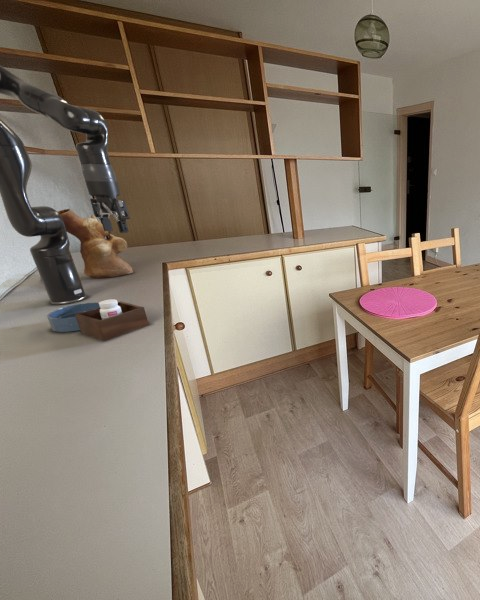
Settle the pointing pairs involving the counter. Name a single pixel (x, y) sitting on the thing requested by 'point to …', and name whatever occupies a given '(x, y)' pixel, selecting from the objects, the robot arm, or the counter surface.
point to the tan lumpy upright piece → (96, 246)
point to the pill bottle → (109, 308)
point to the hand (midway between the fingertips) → (116, 231)
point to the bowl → (68, 317)
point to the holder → (112, 321)
